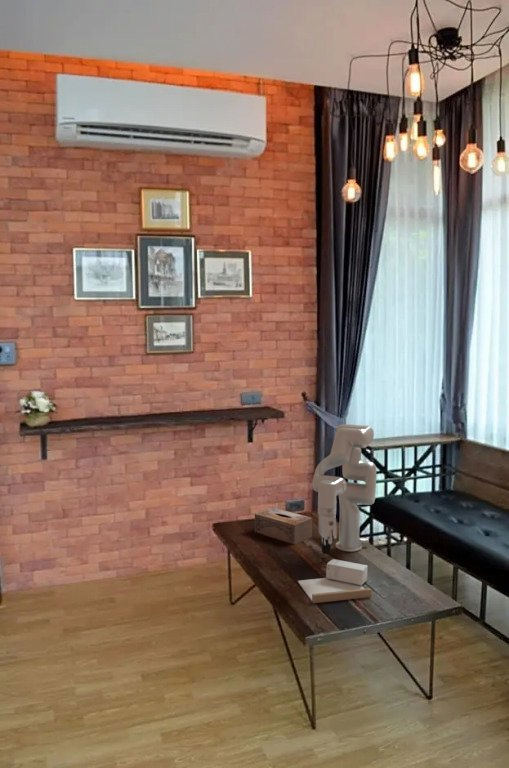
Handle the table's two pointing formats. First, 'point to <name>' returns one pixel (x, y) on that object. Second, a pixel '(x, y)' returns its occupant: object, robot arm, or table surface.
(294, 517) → the tissue box cover
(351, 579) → the skincare box
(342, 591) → the white flat piece
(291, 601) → the table surface
